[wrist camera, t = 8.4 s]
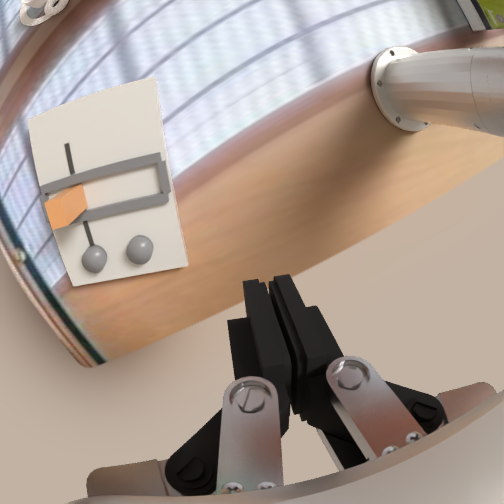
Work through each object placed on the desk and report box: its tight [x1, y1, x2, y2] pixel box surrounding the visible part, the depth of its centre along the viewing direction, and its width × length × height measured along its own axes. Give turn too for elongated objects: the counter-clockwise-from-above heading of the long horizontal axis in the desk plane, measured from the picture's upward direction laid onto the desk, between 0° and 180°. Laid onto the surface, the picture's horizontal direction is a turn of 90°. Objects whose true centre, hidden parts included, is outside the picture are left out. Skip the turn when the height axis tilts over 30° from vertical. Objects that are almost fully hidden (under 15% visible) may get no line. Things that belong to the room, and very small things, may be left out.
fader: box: [44, 184, 88, 230], centre depth 25 cm, size 2×3×6 cm
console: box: [28, 77, 188, 287], centre depth 28 cm, size 16×22×4 cm
